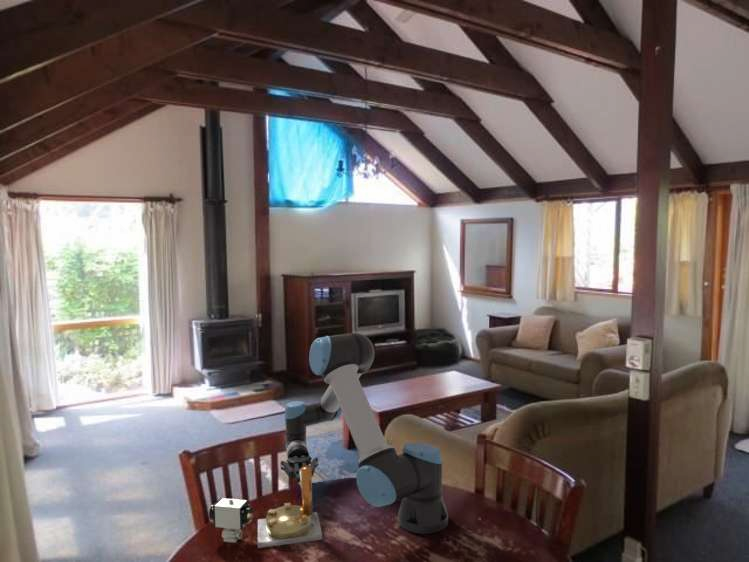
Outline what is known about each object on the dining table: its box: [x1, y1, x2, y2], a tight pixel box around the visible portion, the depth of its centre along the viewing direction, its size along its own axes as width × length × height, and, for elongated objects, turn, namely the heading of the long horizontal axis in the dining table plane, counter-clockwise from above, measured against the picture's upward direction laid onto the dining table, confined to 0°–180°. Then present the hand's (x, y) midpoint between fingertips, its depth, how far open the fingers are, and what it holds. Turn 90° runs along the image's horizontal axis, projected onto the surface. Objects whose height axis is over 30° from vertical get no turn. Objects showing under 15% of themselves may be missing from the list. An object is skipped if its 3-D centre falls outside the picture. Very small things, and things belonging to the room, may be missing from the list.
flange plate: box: [257, 511, 323, 549], centre depth 153 cm, size 18×13×2 cm
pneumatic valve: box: [208, 497, 255, 544], centre depth 149 cm, size 6×12×12 cm, turn 78°
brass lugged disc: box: [266, 465, 313, 538], centre depth 152 cm, size 14×13×17 cm
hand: (303, 484), depth 160 cm, fingers closed
